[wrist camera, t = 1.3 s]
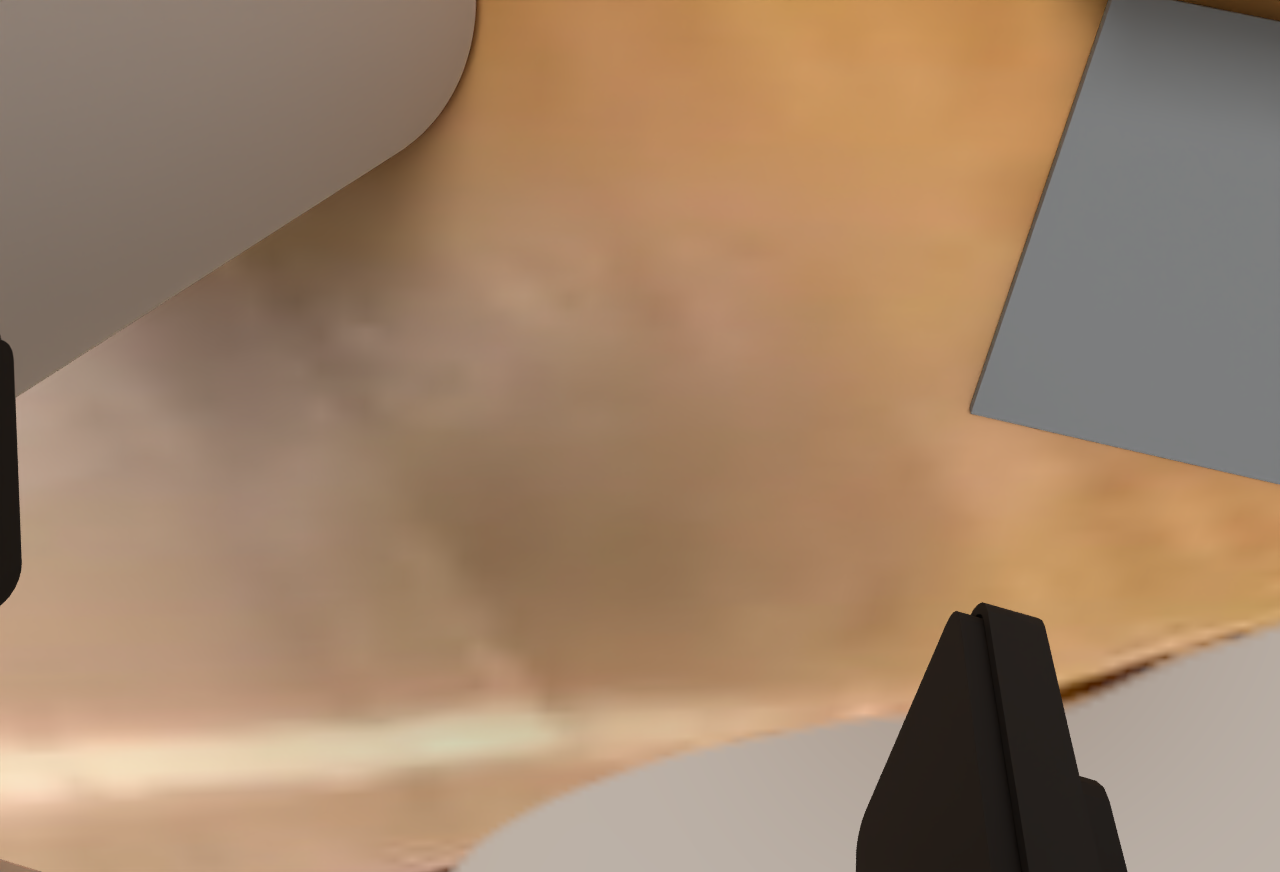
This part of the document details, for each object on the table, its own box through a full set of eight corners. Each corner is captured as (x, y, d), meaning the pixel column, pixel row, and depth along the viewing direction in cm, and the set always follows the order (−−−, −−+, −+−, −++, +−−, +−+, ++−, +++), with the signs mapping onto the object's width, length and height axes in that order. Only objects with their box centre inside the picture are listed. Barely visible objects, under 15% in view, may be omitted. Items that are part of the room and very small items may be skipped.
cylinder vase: (292, 234, 43) (-326, 646, 21) (47, -73, 39) (-1012, 23, 17) (560, 31, 38) (130, 282, 16) (307, -340, 34) (-695, -685, 12)
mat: (1112, -13, 35) (1115, -11, 34) (1604, 86, 33) (1614, 89, 33) (969, 407, 41) (970, 413, 41) (1377, 500, 40) (1383, 508, 40)
